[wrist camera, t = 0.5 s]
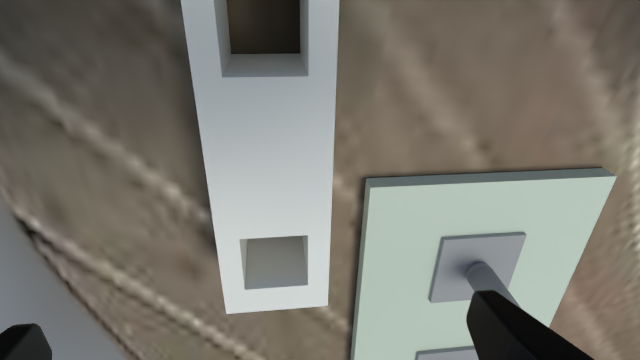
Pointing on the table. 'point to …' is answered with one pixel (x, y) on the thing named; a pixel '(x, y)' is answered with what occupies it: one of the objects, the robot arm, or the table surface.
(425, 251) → the post board
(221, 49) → the power strip bar
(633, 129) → the table surface
